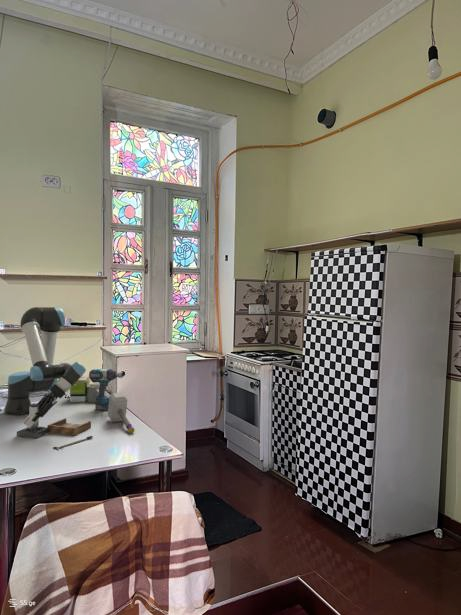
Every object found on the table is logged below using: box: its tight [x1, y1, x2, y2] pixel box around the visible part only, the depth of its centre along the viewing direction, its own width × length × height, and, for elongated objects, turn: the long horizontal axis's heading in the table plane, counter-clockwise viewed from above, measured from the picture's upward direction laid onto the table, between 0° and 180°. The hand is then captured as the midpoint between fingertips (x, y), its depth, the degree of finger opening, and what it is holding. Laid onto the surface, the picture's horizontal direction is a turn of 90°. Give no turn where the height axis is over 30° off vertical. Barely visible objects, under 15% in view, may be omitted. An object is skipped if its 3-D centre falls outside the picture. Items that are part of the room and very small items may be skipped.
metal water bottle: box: [28, 403, 40, 432], centre depth 217 cm, size 4×4×15 cm
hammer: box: [107, 392, 135, 434], centre depth 234 cm, size 15×8×30 cm
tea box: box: [69, 375, 91, 403], centre depth 295 cm, size 15×10×15 cm
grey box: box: [86, 383, 100, 403], centre depth 291 cm, size 13×10×10 cm
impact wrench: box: [88, 368, 124, 411], centre depth 271 cm, size 8×23×25 cm, turn 78°
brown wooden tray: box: [46, 417, 92, 436], centre depth 226 cm, size 16×14×4 cm
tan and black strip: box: [52, 435, 94, 452], centre depth 204 cm, size 21×7×1 cm, turn 146°
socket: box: [16, 425, 50, 440], centre depth 217 cm, size 11×11×2 cm
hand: (25, 425), depth 215 cm, fingers closed on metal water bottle, 4 cm apart
